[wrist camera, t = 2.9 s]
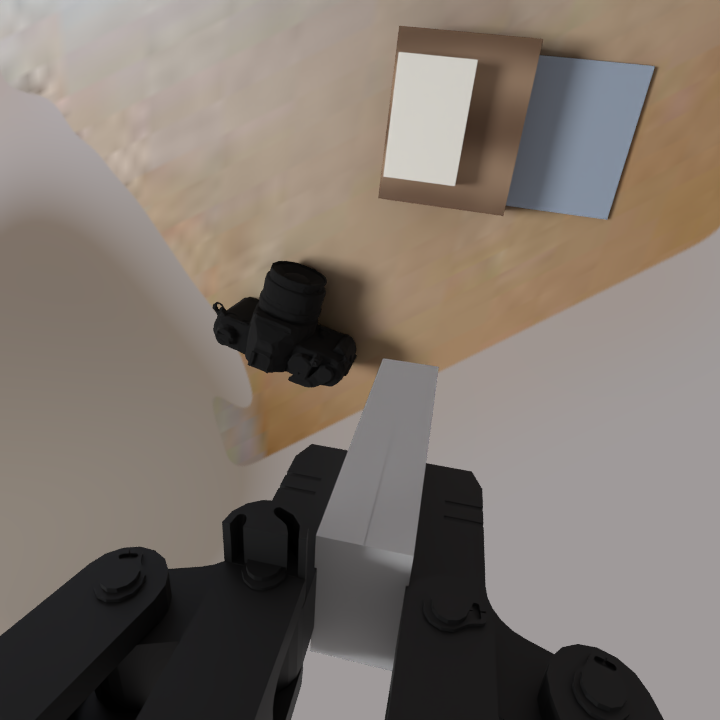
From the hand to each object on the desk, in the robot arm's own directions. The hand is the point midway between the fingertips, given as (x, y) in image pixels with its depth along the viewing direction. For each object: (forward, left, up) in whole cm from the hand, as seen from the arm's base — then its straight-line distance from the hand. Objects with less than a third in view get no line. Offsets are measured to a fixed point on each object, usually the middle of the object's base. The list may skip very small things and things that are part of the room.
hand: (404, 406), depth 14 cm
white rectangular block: (-8, -3, -34) cm, 35 cm away
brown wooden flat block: (-8, -1, -38) cm, 39 cm away
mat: (-8, +9, -38) cm, 40 cm away
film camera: (+12, -14, -38) cm, 42 cm away
